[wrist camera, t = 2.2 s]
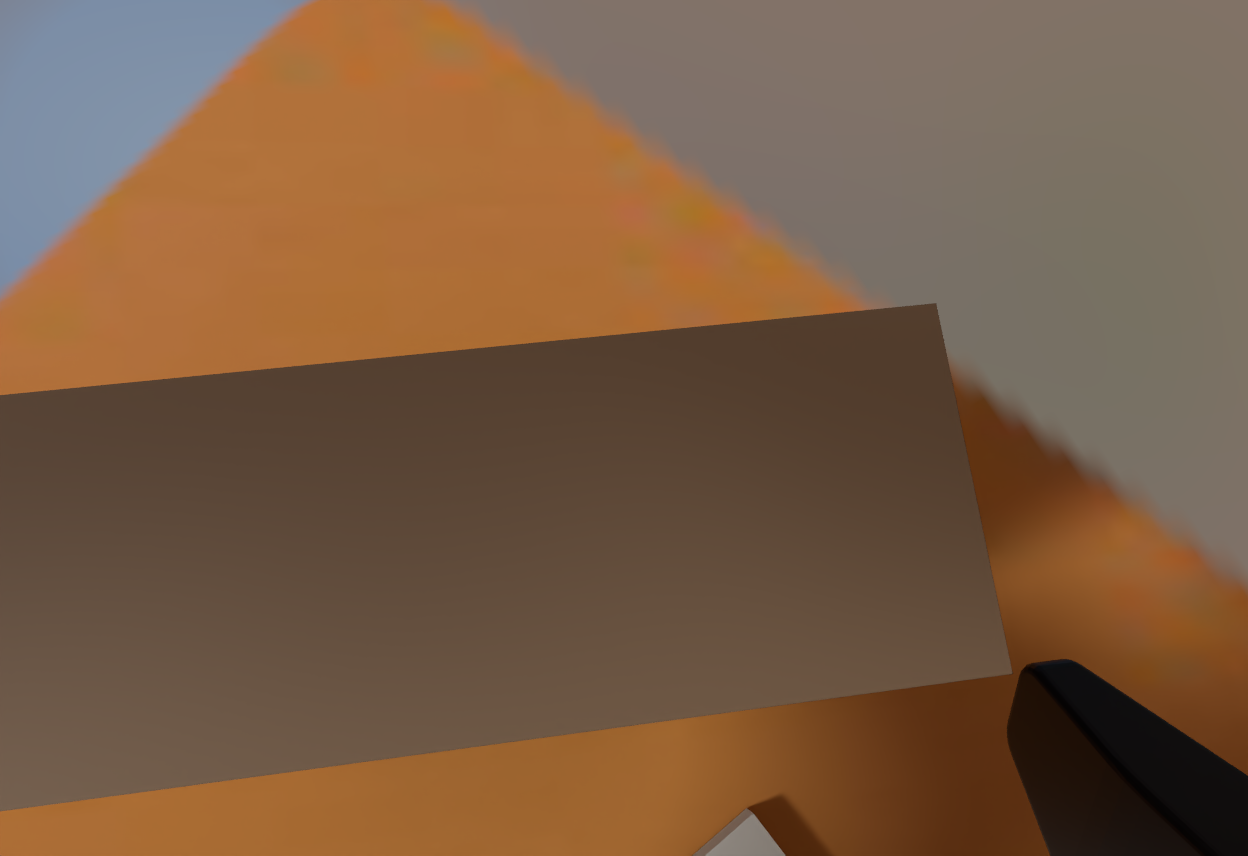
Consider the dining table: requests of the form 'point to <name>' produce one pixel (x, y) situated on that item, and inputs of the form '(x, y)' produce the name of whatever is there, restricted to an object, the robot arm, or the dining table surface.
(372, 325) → the dining table surface
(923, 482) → the walnut block
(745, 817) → the grey mat
